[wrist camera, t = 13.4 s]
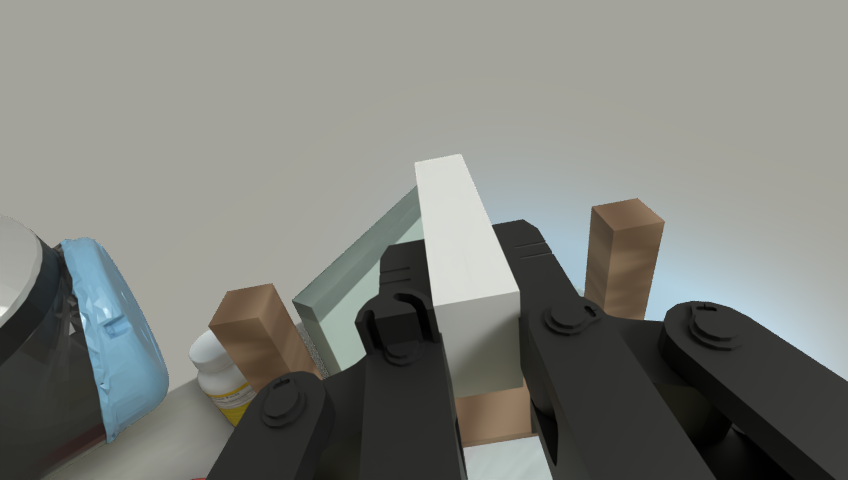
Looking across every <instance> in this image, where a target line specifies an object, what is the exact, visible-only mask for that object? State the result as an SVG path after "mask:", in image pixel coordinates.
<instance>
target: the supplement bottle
mask: <svg viewBox="0 0 848 480" xmlns="http://www.w3.org/2000/svg"><path fill="white" fill-rule="evenodd" d="M189 357H190V359H191V361H192V362H193V363H194V365H195V366H196V367H197V369H199V371H198V377H197V378H198V383H199V386H200V387H201V389H202V390H203V391H204V392H205V394H206V395H207V396H208V397H209V398H210V399H211V400H212V402H213V403H214V404H215V405H216V406H217V407H218V408H219V410H220V411H221V412H222V413H223V414H224V415H225V416H226V418H227V419H228V420H229V421H230V422H231V423H232V424H233V425H234V426H235V428H236V426H237V424H238V423H239V421H240V419H241V417H242V416H243V414H244V412H245V410H246V409H247V407H248V405H249V404H250V402H251V401H252V400H253V398H254V397H255V396H256V395H257V394H256V392H255V391H254V390H253V388H252V387H251V385H250V384H249V383H248V381H247V380H246V378H245V377H244V376H243V374H242V373H241V371H240V370H239V369H238V367H237V366H236V364H235V363H234V362H233V360H232V359H231V357H230V356H229V355H228V353H227V352H226V350H225V349H224V348H223V346H222V345H221V343H220V342H219V341H218V339H217V338H216V336H215V335H214V334H213V332H212V331H211V329H210V330H208V331H207V332H205V333H204V334H202V335H201V336H200V337H199V338H198V339H197V340H196V341H195V342H194V343H193V345H192V346H191V348H190V351H189Z"/></svg>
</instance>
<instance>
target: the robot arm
mask: <svg viewBox="0 0 848 480" xmlns="http://www.w3.org/2000/svg"><path fill="white" fill-rule="evenodd" d="M415 170H416V179H417V186H418V194H419V201H420V209H421V216H422V224H423V232H424V239H421V240H415V241H410V242H404V243H399V244H393V245H388V247H387V249H386V250H385V252H384V253H383V255H382V256H381V258H380V275H379V294H378V295H376V296H375V297H373V298H371V299H370V300H368V301H367V302H366V303H365V304H364V305H363V307H362V308H361V309H360V310H359V311H358V314H357V316H356V319H355V322H354V323H355V326H356V329H357V331H358V334H359V336H360V339H361V341H362V344H363V346H364V349H365V352H366V355H365V356H364V357H363V358H362V359H360V360H359V361H358V362H357V363H356V364H354V365H352V366H350V367H349V368H347V369H345V370H343V371H341V372H339V373H337V374H334V375H332V376H330V377H328V378H326V379H324V380H322V381H321V380H320V379H319V378H318V377H317V376H316V375H315V374H313V373H309V372H305V371H297V372H290V373H287V374H284V375H282V376H280V377H278V378H276V379H273V380H272V381H271V382H270V383H268V384H267V385H266V386H264V387H263V388H262V389H261V390H260V391H259V392H258V393H257V395H256V396H255V397H254V398H253V400H252V401H251V402H250V404H249V405H248V407H247V409H246V410H245V412H244V414H243V416H242V417H241V419H240V421H239V423H238V424H237V426H236V428H235V429H234V431H233V433H232V435H231V436H230V438H229V440H228V442H227V443H226V445H225V447H224V448H223V450H222V452H221V454H220V455H219V457H218V459H217V461H216V462H215V464H214V466H213V467H212V469H211V471H210V473H209V474H208V476H207V478H206V480H468V477H467V470H466V464H465V458H464V451H463V445H462V439H461V432H460V426H459V421H458V417H457V412H456V406H455V398H461V397H467V396H473V395H479V394H485V393H491V392H497V391H503V390H508V389H514V388H520V387H523V376H524V379H525V382H526V385H527V388H528V390H529V393H530V423H531V432H532V434H535V433H537V432H538V435H539V438H540V441H541V444H542V448H543V451H544V454H545V457H546V460H547V463H548V466H549V469H550V472H551V475H552V478H553V480H848V381H846V380H845V379H843V378H842V377H840V376H838V375H837V374H835V373H834V372H832V371H831V370H829V369H828V368H826V367H825V366H823V365H821V364H820V363H819V362H817V361H815V360H814V359H812V358H811V357H809V356H808V355H806V354H805V353H803V352H802V351H800V350H799V349H797V348H796V347H794V346H793V345H791V344H789V343H788V342H786V341H785V340H783V339H782V338H780V337H779V336H777V335H776V334H774V333H772V332H771V331H770V330H768V329H766V328H765V327H763V326H762V325H760V324H759V323H757V322H756V321H754V320H753V319H751V318H750V317H748V316H746V315H744V314H742V313H740V312H738V311H736V310H734V309H732V308H730V307H727V306H723V305H719V304H716V303H712V302H701V301H700V302H699V301H690V302H685V303H680V304H677V305H675V306H674V307H672V308H671V309H670V310H668V311H667V313H666V316H665V318H664V321H649V320H636V319H626V318H619V317H614V316H611V315H608V314H606V313H605V312H604V311H603V310H602V309H601V308H600V307H599V306H598V305H597V304H596V303H594V302H592V301H590V300H588V299H586V298H584V297H581V296H579V295H578V293H577V291H576V290H575V288H574V287H573V285H572V283H571V282H570V280H569V278H568V277H567V275H566V274H565V272H564V270H563V269H562V267H561V266H560V264H559V262H558V261H557V259H556V257H555V256H554V254H552V251H551V250H550V248H549V246H548V245H547V243H546V242H545V240H544V238H543V236H542V235H541V233H540V232H539V230H538V228H536V227H534V226H533V225H531V224H530V223H528V222H526V221H525V220H523V219H522V220H517V221H512V222H506V223H500V224H495V225H491V223H490V221H489V218H488V216H487V214H486V212H485V209H484V207H483V204H482V202H481V200H480V197H479V195H478V193H477V190H476V188H475V186H474V183H473V181H472V179H471V176H470V174H469V172H468V169H467V167H466V165H465V163H464V160H463V158H462V155H461V154H457V155H452V156H447V157H442V158H436V159H431V160H426V161H421V162H415ZM168 386H169V376H168V371H167V368H166V365H165V362H164V359H163V357H162V354H161V351H160V349H159V347H158V344H157V342H156V340H155V338H154V336H153V333H152V331H151V329H150V327H149V325H148V323H147V321H146V319H145V317H144V315H143V313H142V311H141V309H140V307H139V305H138V303H137V301H136V299H135V298H134V296H133V294H132V292H131V290H130V288H129V287H128V285H127V283H126V282H125V280H124V278H123V276H122V275H121V273H120V272H119V270H118V268H117V266H116V265H115V263H114V262H113V260H112V259H111V257H110V256H109V254H108V253H107V252H106V250H105V249H104V248H103V247H102V246H101V245H100V244H99V243H97V242H96V241H95V240H94V239H90V238H88V237H86V238H85V237H84V238H78V239H75V240H70V239H65V240H64V241H62V242H60V243H59V244H58V245H57V246H56V247H54V248H50V247H49V246H47V244H45V243H44V242H43V241H42V240H41V239H40V238H39V237H38V236H37V235H36V234H35V233H33V231H32V230H30V229H29V228H28V227H26V226H25V225H24V224H23V223H21V222H19V221H17V220H15V219H13V218H10V217H6V216H3V215H0V480H46V479H48V478H49V477H51V476H53V475H54V474H56V473H58V472H59V471H61V470H63V469H64V468H66V467H67V466H69V465H71V464H72V463H74V462H76V461H77V460H79V459H81V458H82V457H84V456H86V455H87V454H89V453H91V452H92V451H94V450H95V449H97V448H99V447H100V446H102V445H104V444H105V443H106V444H108V443H110V442H112V441H114V440H115V439H116V438H117V436H118V433H120V432H121V431H123V430H124V429H126V428H127V427H129V426H130V425H132V424H133V423H135V422H136V421H138V420H139V419H141V418H142V417H144V416H145V415H147V414H148V413H149V412H151V411H152V410H154V409H155V408H156V407H157V406H158V405H159V404H160V403H161V402H162V401H163V399H164V398H165V396H166V394H167V391H168Z"/></svg>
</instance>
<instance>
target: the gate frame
mask: <svg viewBox="0 0 848 480" xmlns="http://www.w3.org/2000/svg"><path fill="white" fill-rule="evenodd" d="M664 223H665V221H664V220H662V219H661V218H660V217H659V216H658V215H657V214H655V213H654V212H653V211H652V210H651V209H650V208H648V207H647V206H646V205H645V204H644V203H642V202H641V201H640V200H639V199H638V198H637V199H631V200H626V201H620V202H615V203H609V204H604V205H598V206H593V207H592V211H591V222H590V234H589V247H588V258H587V271H586V282H585V293H584V298H586V299H588V300H590V301H592V302H594V303H596V304H597V305H598V306H599V307H600V308H601V309H602V310H603V311H604V312H605V313H606V314H608V315H611V316H614V317H619V318H626V319H636V320H644V316H645V311H646V307H647V302H648V297H649V293H650V288H651V284H652V279H653V274H654V270H655V265H656V260H657V256H658V251H659V246H660V242H661V237H662V233H663V227H664ZM209 328H210V329H211V331H212V332H213V334H214V335H215V336H216V338H217V339H218V341H219V342H220V343H221V345H222V346H223V348H224V349H225V350H226V352H227V353H228V355H229V356H230V357H231V359H232V360H233V362H234V363H235V364H236V366H237V367H238V369H239V370H240V371H241V373H242V374H243V376H244V377H245V378H246V380H247V381H248V383H249V384H250V385H251V387H252V388H253V390H254V391H255V392H256V394H257V393H258V392H259V391H260V390H261V389H262V388H263V387H264V386H266V385H267V384H268V383H270V382H271V381H272V380H273V379H276V378H278V377H280V376H282V375H284V374H287V373H290V372H297V371H305V372H309V373H313V374H315V375H316V376H317V377H318V378H319V379H320V380H321V381H322V380H323V378H322V376H321V374H320V372H319V371H318V369H317V367H316V365H315V363H314V361H313V359H312V357H311V355H310V354H309V352H308V350H307V348H306V346H305V344H304V342H303V340H302V338H301V336H300V335H299V333H298V331H297V329H296V327H295V325H294V323H293V321H292V320H291V318H290V316H289V314H288V312H287V310H286V308H285V306H284V305H283V302H282V301H281V299H280V297H279V295H278V293H277V291H276V289H275V287H274V285H273V284H266V285H260V286H255V287H249V288H244V289H238V290H233V291H228V292H227V293H226V295H225V297H224V298H223V300H222V302H221V304H220V306H219V307H218V309H217V311H216V313H215V315H214V316H213V319H212V320H211V322H210V324H209ZM455 406H456V412H457V417H458V421H459V426H460V432H461V439H462V445H463V448H464V447H470V446H477V445H483V444H489V443H495V442H501V441H508V440H514V439H520V438H526V437H532V436H539V435H538V432H537V433H535V434H532V432H531V423H530V393H529V390H528V388H527V385H526V382H525V379H524V376H523V387H520V388H514V389H508V390H503V391H497V392H491V393H485V394H479V395H473V396H467V397H461V398H455Z"/></svg>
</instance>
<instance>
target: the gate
mask: <svg viewBox="0 0 848 480" xmlns="http://www.w3.org/2000/svg"><path fill="white" fill-rule="evenodd" d="M421 239H424V232H423V224H422V216H421V209H420V201H419V194H418V186H417V185H416V186H415V187H414V188H413V189H412V190H411V191H410V192H409V193H408V194H407V195H406V196H405V197H403V198H402V199H401V200H400V201H399V202H398V203H397V204H396V205H395V206H394V207H393V208H392V209H390V210H389V211H388V212H387V213H386V214H385V215H384V216H383V217H382V218H381V219H380V220H379V221H378V222H376V223H375V224H374V225H373V226H372V227H371V228H370V229H369V230H368V231H367V232H365V233H364V234H363V235H362V236H361V237H360V238H359V239H358V240H357V241H356V242H355V243H354V244H353V245H352V246H350V247H349V248H348V249H347V250H346V251H345V252H344V253H343V254H342V255H341V256H340V257H339V258H337V259H336V260H335V261H334V262H333V263H332V264H331V265H330V266H329V267H327V269H325V270H324V271H323V272H322V273H321V274H320V275H319V276H318V277H317V278H316V279H314V280H313V282H311V283H310V284H309V285H308V286H307V287H306V288H305V289H304V290H303V291H301V292H300V293H299V294H298V295H297V296H296V297H295V298H294V299H293V300H292V302H293V304H294V306H295V308H296V310H297V312H298V314H299V316H300V318H301V320H302V322H303V324H304V326H305V328H306V330H307V332H308V334H309V336H310V337H311V339H312V341H313V343H314V345H315V347H316V349H317V351H318V353H319V355H320V357H321V359H322V361H323V363H324V365H325V367H326V369H327V371H328V373H329V375H330V376H332V375H334V374H337V373H339V372H341V371H343V370H345V369H347V368H349V367H350V366H352V365H354V364H356V363H357V362H358V361H359V360H360V359H362V358H363V357H364V356H365V355H366V352H365V349H364V346H363V344H362V341H361V339H360V336H359V334H358V331H357V329H356V326H355V323H354V322H355V319H356V316H357V314H358V311H359V310H360V309H361V308H362V307H363V305H364V304H365V303H366V302H367V301H368V300H370V299H371V298H373V297H375V296H376V295H378V294H379V275H380V258H381V256H382V255H383V253H384V252H385V250H386V249H387V247H388V245H393V244H399V243H404V242H410V241H415V240H421Z"/></svg>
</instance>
